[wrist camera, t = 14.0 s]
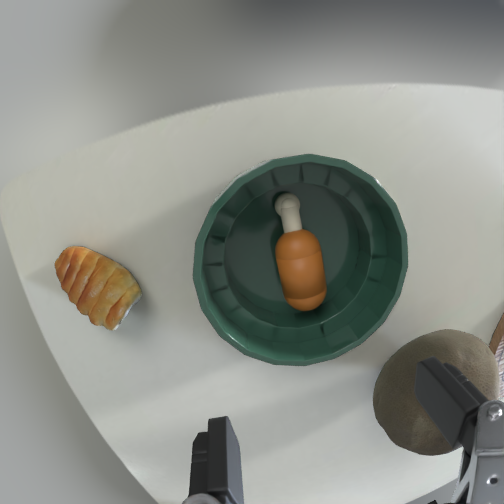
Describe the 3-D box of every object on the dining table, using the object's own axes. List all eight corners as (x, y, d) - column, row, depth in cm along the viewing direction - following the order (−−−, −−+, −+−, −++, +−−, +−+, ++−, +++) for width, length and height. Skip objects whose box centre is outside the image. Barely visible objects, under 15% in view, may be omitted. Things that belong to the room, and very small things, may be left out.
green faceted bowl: (175, 291, 30) (161, 322, 24) (250, 125, 26) (255, 113, 20) (324, 349, 33) (341, 385, 27) (402, 209, 29) (438, 220, 23)
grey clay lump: (436, 385, 37) (489, 452, 22) (349, 407, 36) (388, 495, 22) (460, 298, 33) (539, 355, 18) (363, 313, 32) (433, 400, 18)
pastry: (53, 276, 29) (36, 289, 25) (78, 226, 28) (60, 234, 24) (120, 328, 31) (109, 346, 27) (151, 282, 30) (141, 297, 26)
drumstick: (260, 196, 28) (265, 201, 24) (304, 187, 28) (315, 190, 24) (283, 304, 31) (291, 323, 27) (322, 294, 31) (334, 312, 27)
